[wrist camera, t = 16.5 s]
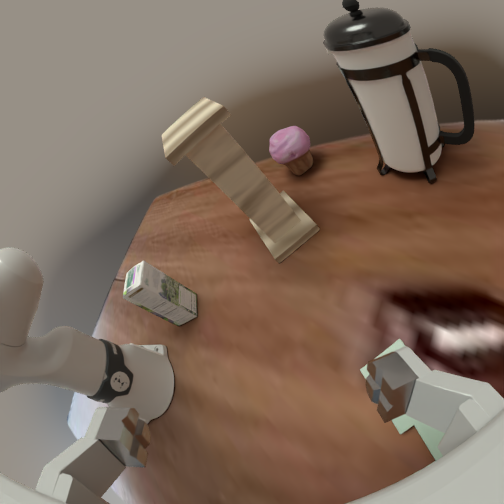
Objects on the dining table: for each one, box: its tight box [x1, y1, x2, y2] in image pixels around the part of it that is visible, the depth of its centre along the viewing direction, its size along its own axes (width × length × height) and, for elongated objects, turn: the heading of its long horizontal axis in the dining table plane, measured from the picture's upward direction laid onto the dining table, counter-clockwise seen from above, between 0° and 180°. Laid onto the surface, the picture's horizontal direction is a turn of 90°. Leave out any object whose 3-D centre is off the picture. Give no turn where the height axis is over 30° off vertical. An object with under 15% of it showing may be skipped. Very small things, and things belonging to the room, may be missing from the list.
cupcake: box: [269, 126, 313, 175], centre depth 53 cm, size 9×9×10 cm
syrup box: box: [123, 261, 197, 326], centre depth 49 cm, size 6×6×14 cm
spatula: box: [360, 339, 445, 460], centre depth 20 cm, size 21×6×2 cm, turn 24°
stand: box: [162, 97, 320, 263], centre depth 42 cm, size 13×9×26 cm
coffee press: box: [323, 0, 474, 183], centre depth 29 cm, size 17×16×30 cm
